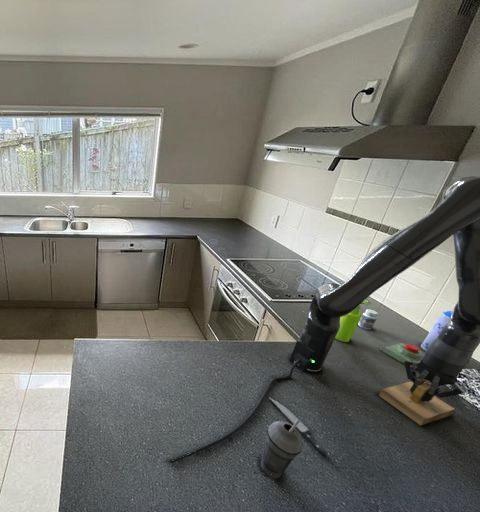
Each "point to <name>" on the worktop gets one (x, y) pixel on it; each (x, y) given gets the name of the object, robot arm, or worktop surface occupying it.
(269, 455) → the beverage cup
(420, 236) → the robot arm
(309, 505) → the worktop surface
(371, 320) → the pill bottle
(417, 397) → the lock knob
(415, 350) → the alarm button
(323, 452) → the chef's knife
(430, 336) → the aerosol can
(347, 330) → the soap dispenser
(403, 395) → the lock plate
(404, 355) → the box
